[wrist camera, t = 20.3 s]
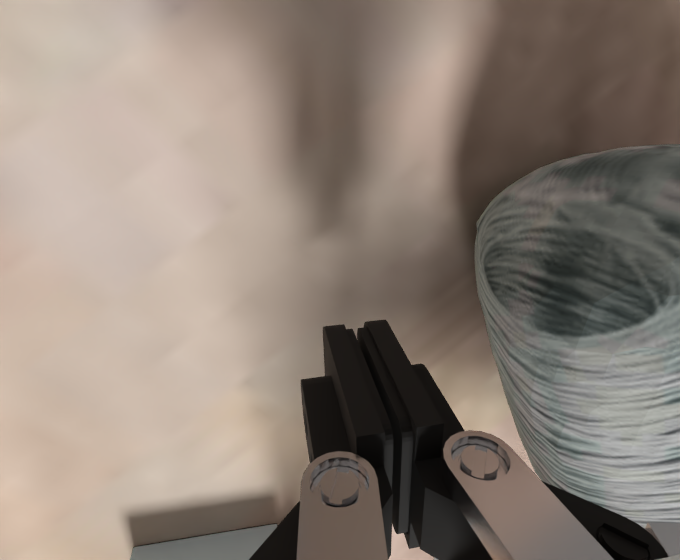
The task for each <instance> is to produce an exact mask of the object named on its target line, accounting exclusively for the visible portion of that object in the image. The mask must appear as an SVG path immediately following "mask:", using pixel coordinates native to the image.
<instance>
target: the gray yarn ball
mask: <svg viewBox="0 0 680 560" xmlns="http://www.w3.org/2000/svg"><path fill="white" fill-rule="evenodd" d="M476 225H477V235H476V241H475V274H476V284H477V291H478V297H479V300H480V304H481V307H482V310H483V314H484V317H485V323H486V328H487V333H488V337H489V341H490V345H491V349H492V353H493V356H494V358H495V361H496V364H497V367H498V371H499V374H500V378H501V381H502V385H503V389H504V392H505V395H506V398H507V401H508V404H509V407H510V410H511V413H512V416H513V419H514V422H515V425H516V428H517V431H518V433H519V436H520V438H521V441H522V443H523V446H524V448H525V450H526V452H527V454H528V457H529V459H530V461H531V464H532V466H533V468H534V470H535V472H536V474H537V475H538V476H539V478H540V479H541V480H542V481H543V482H546V483H548V484H550V485H552V486H555V487H557V488H559V489H562V490H564V491H566V492H569V493H571V494H573V495H576V496H578V497H580V498H583V499H585V500H587V501H589V502H592V503H594V504H596V505H599V506H601V507H603V508H606V509H608V510H610V511H613V512H615V513H617V514H620V515H622V516H624V517H626V518H628V519H630V520H632V521H634V522H635V523H637V524H639V525H640V526H642V527H643V528H646V525H647V523H648V522H659V523H680V144H665V145H647V146H632V147H621V148H615V149H610V150H606V151H602V152H598V153H589V154H582V155H578V156H574V157H570V158H567V159H563V160H559V161H557V162H554V163H551V164H548V165H546V166H543V167H540V168H538V169H536V170H535V171H533V172H531V173H529V174H528V175H526V176H524V177H522V178H520V179H519V180H517V181H516V182H514V183H513V184H511V185H510V186H508V187H507V188H505V189H504V190H503V191H502V192H501V193H499V194H498V195H497V196H496V197H495V198H494V199H493V200H492V201H491V202H490V203H489V205H488V206H487V208H486V209H485V211H484V212H483V213H482V215H481V216H480V218H479V220H478V221H477V223H476Z"/></svg>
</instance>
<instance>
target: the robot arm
mask: <svg viewBox="0 0 680 560" xmlns="http://www.w3.org/2000/svg"><path fill="white" fill-rule="evenodd" d="M323 343H324V363H325V376H324V377H317V378H309V379H302V380H301V393H302V405H303V416H304V425H305V433H306V440H307V446H308V453H309V460H310V464H309V465H308V467H307V468H306V470H305V471H304V473H303V477H302V481H301V494H300V501H299V502H298V503H297V505H296V506H295V507H294V508H293V509H292V510H291V512H290V513H289V514H288V515H287V516H286V517H285V518H284V520H283V521H282V522H281V523H280V524H279V525H278V526H277V528H276V529H275V530H274V531H273V532H272V533H271V534H270V536H269V537H268V538H267V539H266V540H265V541H264V542H263V544H262V545H261V546H260V547H259V548H258V549H257V551H256V552H255V553H254V554H253V555H252V556H251V557H250V559H249V560H388V559H389V557H390V555H391V534H392V524H393V527H394V530H395V532H396V533H397V534H400V533H404V535H405V538H406V541H407V544H408V547H409V549H410V548H415V547H420V549H421V550H423V551H425V552H426V553H428V554H430V555H431V556H433V560H680V523H659V522H648V523H647V525H646V528H643V527H642V526H640V525H639V524H637V523H635V522H634V521H632V520H630V519H628V518H626V517H624V516H622V515H620V514H617V513H615V512H613V511H610V510H608V509H606V508H603V507H601V506H599V505H596V504H594V503H592V502H589V501H587V500H585V499H583V498H580V497H578V496H576V495H573V494H571V493H569V492H566V491H564V490H562V489H559V488H557V487H555V486H552V485H550V484H548V483H546V482H543V481H541V480H540V479H539V478H538V477H537V475H536V474H535V473H534V472H533V471H532V470H531V469H530V468H529V467H528V466H527V465H526V463H525V462H524V461H523V460H522V459H521V458H520V457H519V456H518V455H517V454H516V453H515V452H514V450H513V449H512V448H511V447H510V446H509V445H507V444H506V443H505V442H504V441H503V440H501V439H499V438H497V437H496V436H494V435H492V434H488V433H485V432H482V431H472V430H469V431H464V429H463V428H462V426H461V424H460V423H459V421H458V419H457V418H456V416H455V414H454V413H453V411H452V409H451V408H450V406H449V404H448V403H447V401H446V400H445V398H444V396H443V395H442V393H441V391H440V390H439V388H438V386H437V385H436V383H435V381H434V380H433V378H432V376H431V375H430V373H429V372H428V370H427V368H426V367H425V366H424V365H423V364H415V365H411V363H410V362H409V360H408V358H407V356H406V354H405V353H404V351H403V349H402V347H401V346H400V344H399V342H398V340H397V338H396V337H395V335H394V333H393V331H392V330H391V328H390V326H389V324H388V322H387V321H386V320H377V321H369V322H365V323H364V327H363V328H358V330H357V338H356V336H355V334H354V331H353V329H346V328H345V326H344V324H343V325H334V326H325V327H323Z"/></svg>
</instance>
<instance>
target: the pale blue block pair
mask: <svg viewBox="0 0 680 560" xmlns="http://www.w3.org/2000/svg"><path fill="white" fill-rule="evenodd" d="M276 528H277V524H272V525H266V526H260V527H253V528H247V529H241V530H235V531H229V532H223V533H217V534H211V535H205V536H199V537H193V538H187V539H181V540H175V541H168V542H162V543H156V544H150V545H144V546H138V547H133V551H132V555H131V558H130V560H249V559H250V557H251V556H252V555H253V554H254V553H255V552H256V551H257V549H258V548H259V547H260V546H261V545H262V544H263V542H264V541H265V540H266V539H267V538H268V537H269V536H270V534H271V533H272V532H273V531H274V530H275V529H276Z"/></svg>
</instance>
